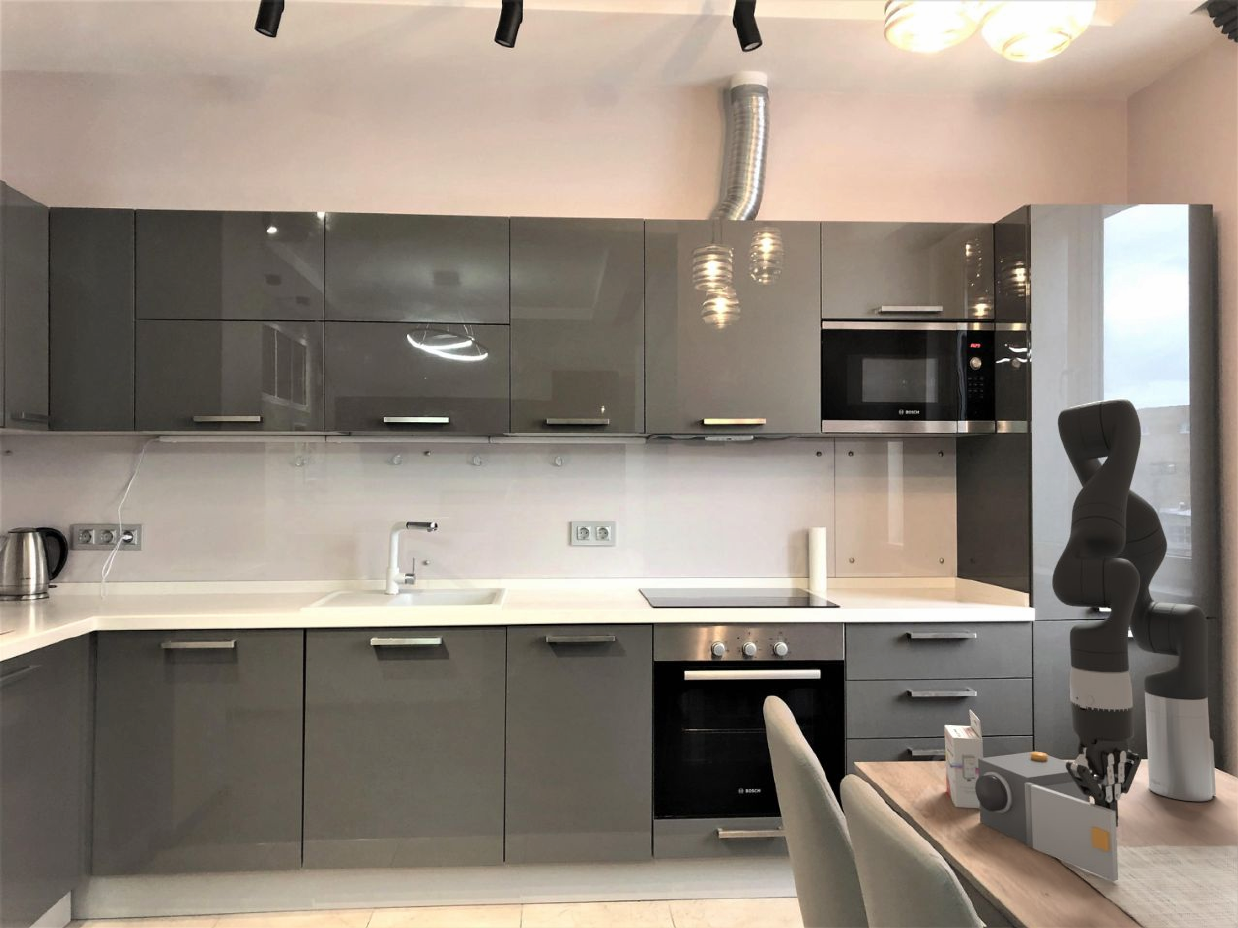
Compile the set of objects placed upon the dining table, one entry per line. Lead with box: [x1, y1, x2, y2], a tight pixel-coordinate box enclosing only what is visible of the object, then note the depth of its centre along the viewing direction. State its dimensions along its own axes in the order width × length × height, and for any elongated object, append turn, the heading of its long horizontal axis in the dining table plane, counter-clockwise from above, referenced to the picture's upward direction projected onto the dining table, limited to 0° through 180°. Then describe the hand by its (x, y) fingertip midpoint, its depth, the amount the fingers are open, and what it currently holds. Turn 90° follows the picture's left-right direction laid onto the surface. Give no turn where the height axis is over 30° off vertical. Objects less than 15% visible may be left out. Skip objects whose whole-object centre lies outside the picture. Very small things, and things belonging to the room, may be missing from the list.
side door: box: [1025, 782, 1119, 882], centre depth 114 cm, size 13×2×9 cm, turn 26°
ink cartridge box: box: [943, 709, 984, 809], centre depth 140 cm, size 9×5×15 cm, turn 168°
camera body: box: [975, 750, 1091, 846], centre depth 127 cm, size 14×10×11 cm
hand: (1106, 825), depth 112 cm, fingers closed
